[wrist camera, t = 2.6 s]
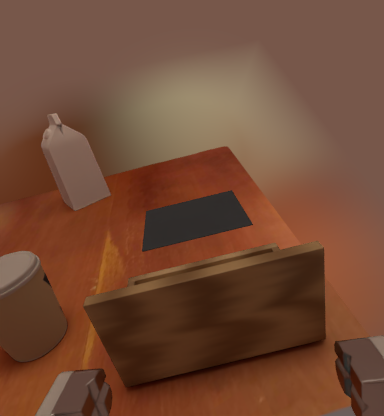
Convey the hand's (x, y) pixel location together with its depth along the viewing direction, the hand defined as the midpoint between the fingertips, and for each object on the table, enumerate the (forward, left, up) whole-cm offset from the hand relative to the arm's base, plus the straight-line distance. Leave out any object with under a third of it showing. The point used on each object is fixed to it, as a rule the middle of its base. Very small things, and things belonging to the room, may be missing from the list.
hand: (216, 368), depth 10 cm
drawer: (0, -21, -20) cm, 29 cm away
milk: (+31, -79, -20) cm, 87 cm away
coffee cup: (+25, -25, -20) cm, 40 cm away
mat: (0, -50, -20) cm, 53 cm away
